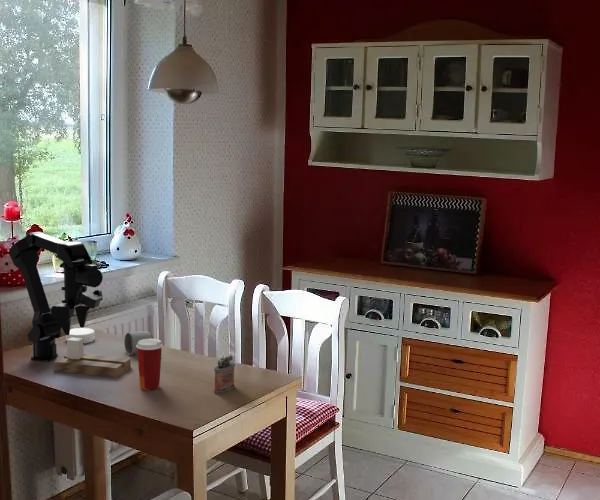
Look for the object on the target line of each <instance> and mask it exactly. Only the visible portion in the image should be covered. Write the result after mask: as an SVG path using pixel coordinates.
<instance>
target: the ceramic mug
mask: <svg viewBox="0 0 600 500" xmlns="http://www.w3.org/2000/svg"><path fill="white" fill-rule="evenodd" d="M143 339H154V336H153V334H152V332H150V331H145V330H143V331H128V332H126V333H125V336H124V340H123V341H124V348H125V352H126V353H127V354H128V355H129V356H132V355H138V350H137V347H136V345H137V343H138V341H140V340H143Z"/></svg>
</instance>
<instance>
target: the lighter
mask: <svg viewBox="0 0 600 500" xmlns="http://www.w3.org/2000/svg"><path fill="white" fill-rule="evenodd" d="M233 357H234V356H233V355H232V354H231V355H226V356H225V357H223V356H222V357H221V358H220V359H219V360H217V366H216V367H214V370H213V371H214V390H213V393H214V394H215V395H222V393H223V394H226V393H228V392H227V391H229V392H230V391H232V390H234V389H235V388H234V387H236V386H235V366H236V363H235V362H232V361H233V359H234V358H233ZM233 388H234V389H233ZM231 389H232V390H231ZM225 392H226V393H225Z"/></svg>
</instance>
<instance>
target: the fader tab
mask: <svg viewBox="0 0 600 500" xmlns="http://www.w3.org/2000/svg"><path fill="white" fill-rule="evenodd" d="M84 354H85V353H84V344H83V338H73V337H71V338H69V339H68V340H67V342H66V355H67V358H70V359H76V360H78V359H80V358H82V357H84Z"/></svg>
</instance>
